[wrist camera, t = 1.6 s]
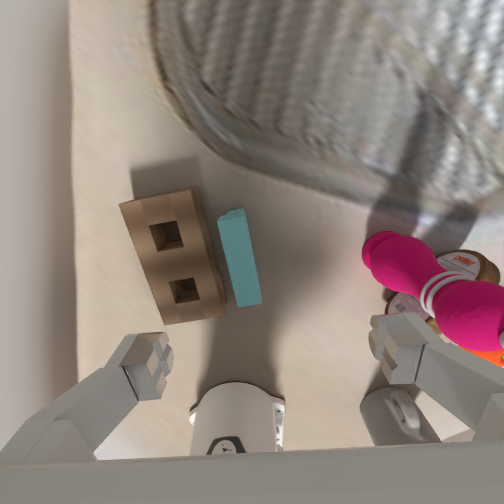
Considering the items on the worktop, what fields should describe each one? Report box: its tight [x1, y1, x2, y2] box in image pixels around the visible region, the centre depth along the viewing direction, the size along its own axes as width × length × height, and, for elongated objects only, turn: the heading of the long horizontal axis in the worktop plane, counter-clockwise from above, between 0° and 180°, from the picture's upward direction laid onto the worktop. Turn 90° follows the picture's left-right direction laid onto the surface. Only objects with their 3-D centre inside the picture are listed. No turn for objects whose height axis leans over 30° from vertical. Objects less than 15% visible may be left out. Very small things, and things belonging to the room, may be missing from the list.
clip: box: [217, 208, 262, 308], centre depth 31 cm, size 11×3×8 cm, turn 11°
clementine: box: [459, 345, 504, 367], centre depth 37 cm, size 8×7×7 cm
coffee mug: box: [360, 387, 442, 446], centre depth 41 cm, size 13×10×10 cm
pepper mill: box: [362, 231, 504, 352], centre depth 26 cm, size 7×7×20 cm
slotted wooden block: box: [118, 187, 227, 325], centre depth 34 cm, size 18×9×4 cm, turn 11°
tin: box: [385, 249, 500, 336], centre depth 33 cm, size 15×3×8 cm, turn 142°
